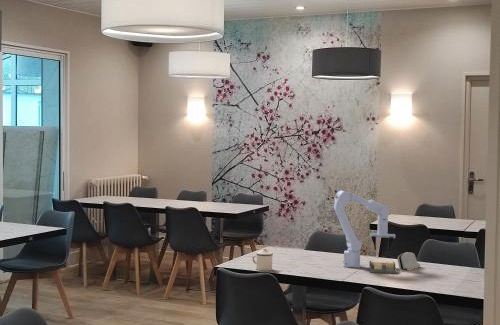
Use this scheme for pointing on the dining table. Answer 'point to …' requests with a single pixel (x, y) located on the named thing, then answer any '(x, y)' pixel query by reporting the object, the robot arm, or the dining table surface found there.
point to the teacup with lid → (263, 260)
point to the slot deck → (379, 263)
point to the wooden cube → (377, 266)
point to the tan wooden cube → (389, 266)
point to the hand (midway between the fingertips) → (381, 249)
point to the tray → (382, 270)
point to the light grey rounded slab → (407, 261)
